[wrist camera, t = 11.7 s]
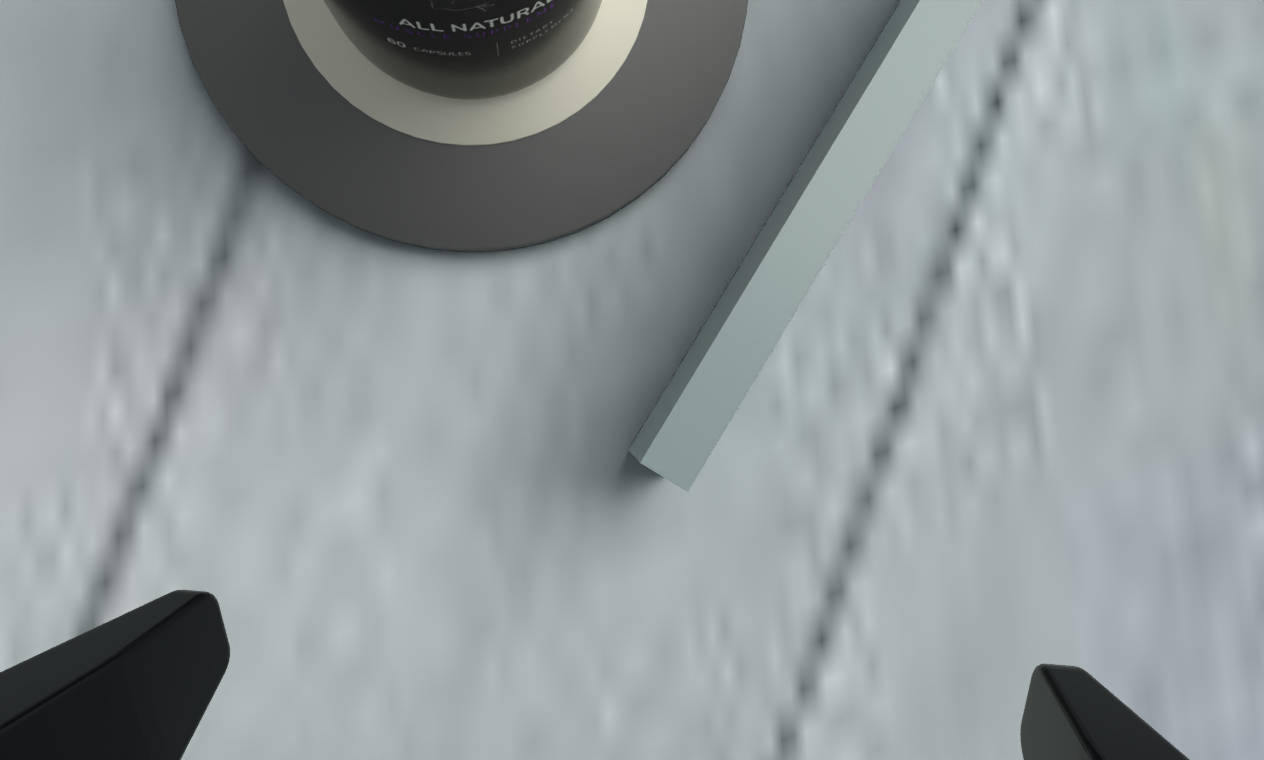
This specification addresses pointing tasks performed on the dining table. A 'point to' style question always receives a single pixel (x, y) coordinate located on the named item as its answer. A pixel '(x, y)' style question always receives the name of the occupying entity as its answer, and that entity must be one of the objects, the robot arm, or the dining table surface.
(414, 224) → the mat
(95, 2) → the dining table surface
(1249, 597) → the dining table surface
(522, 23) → the supplement bottle
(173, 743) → the robot arm
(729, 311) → the acrylic wall
